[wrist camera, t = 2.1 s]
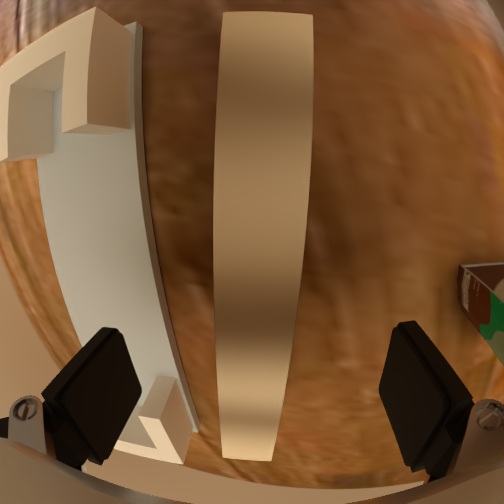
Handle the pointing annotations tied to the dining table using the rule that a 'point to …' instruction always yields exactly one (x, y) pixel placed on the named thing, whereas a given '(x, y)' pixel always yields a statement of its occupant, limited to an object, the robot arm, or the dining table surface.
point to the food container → (484, 301)
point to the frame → (100, 206)
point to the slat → (259, 217)
